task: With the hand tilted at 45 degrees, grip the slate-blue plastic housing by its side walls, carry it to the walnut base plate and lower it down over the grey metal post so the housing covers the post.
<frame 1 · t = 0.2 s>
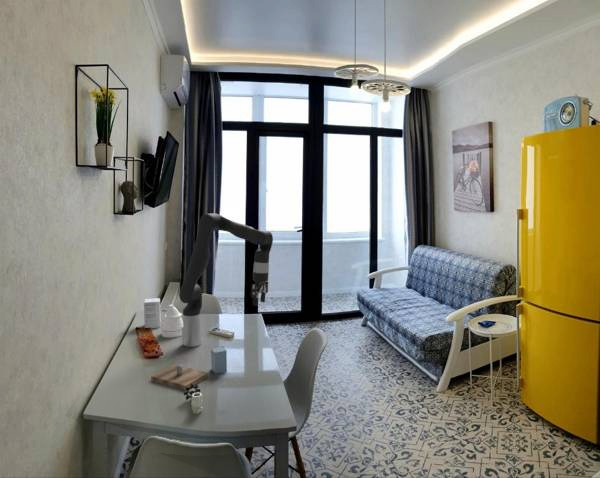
hand: (258, 303, 193), 29 cm above the table, tool pointing down, fingers open, 8 cm apart
post plate: (179, 378, 174), on the table
valve: (195, 407, 151), on the table
supplement box: (152, 326, 247), on the table
housing: (219, 370, 183), on the table
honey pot: (173, 334, 233), on the table
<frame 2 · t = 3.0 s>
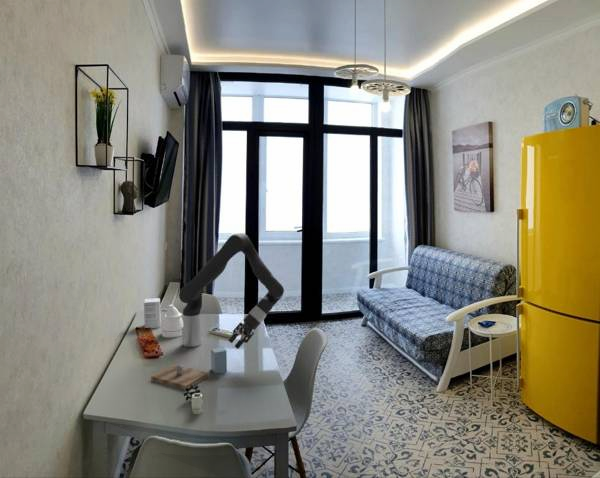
hand: (233, 344, 185), 11 cm above the table, tool tilted 45°, fingers open, 8 cm apart
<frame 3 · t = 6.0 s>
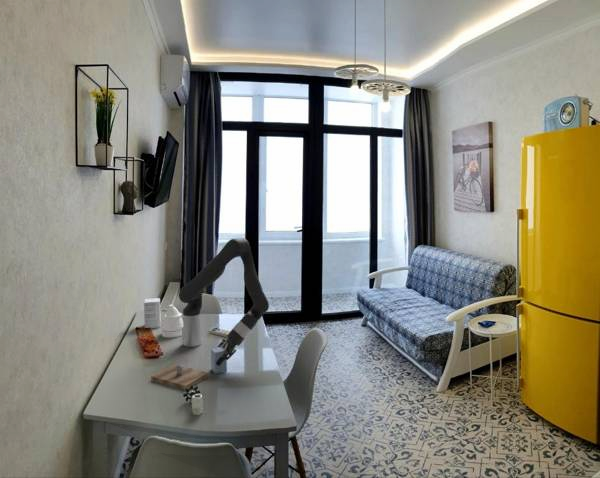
hand: (215, 362, 182), 4 cm above the table, tool tilted 45°, fingers closed on housing, 5 cm apart
housing: (219, 370, 183), on the table, touching gripper
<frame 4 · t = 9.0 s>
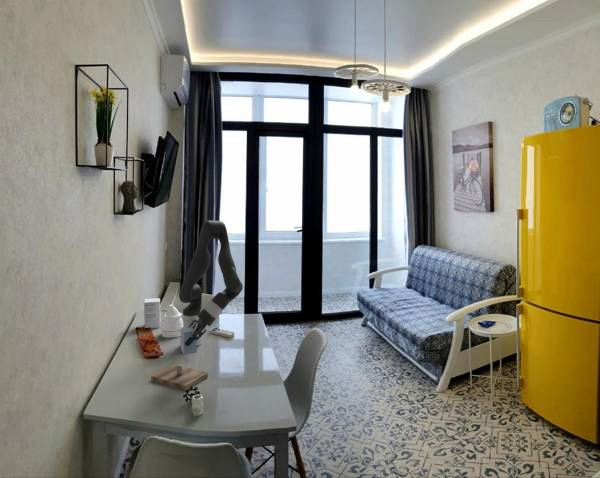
hand: (184, 342, 174), 16 cm above the table, tool tilted 45°, fingers closed on housing, 5 cm apart
housing: (188, 351, 175), point 12 cm above the table, touching gripper
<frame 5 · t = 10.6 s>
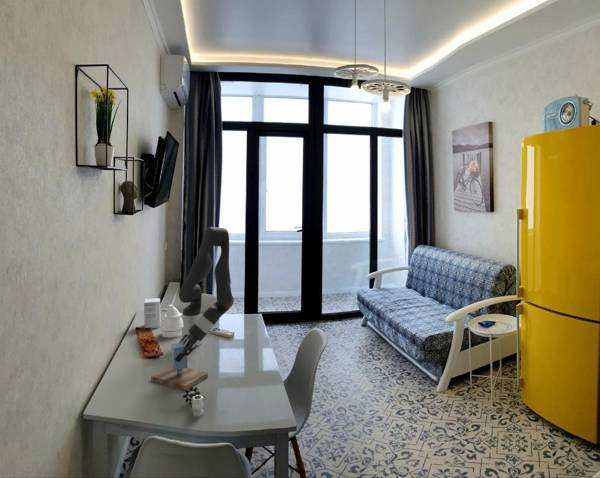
hand: (175, 358, 172), 10 cm above the table, tool tilted 45°, fingers closed on housing, 5 cm apart
housing: (179, 366, 174), point 5 cm above the table, touching gripper
when the fingers open (7 cm above the table, at t = 12.0 s): housing stays where it is, resting on post plate.
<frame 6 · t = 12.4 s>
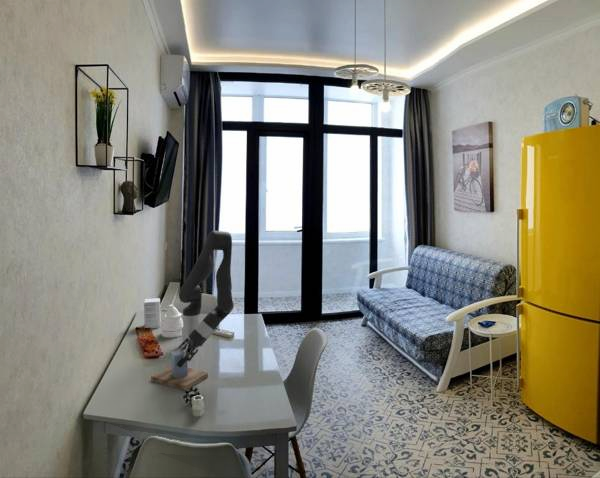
hand: (176, 362, 173), 8 cm above the table, tool tilted 45°, fingers open, 8 cm apart
housing: (179, 374, 174), point 2 cm above the table, touching post plate
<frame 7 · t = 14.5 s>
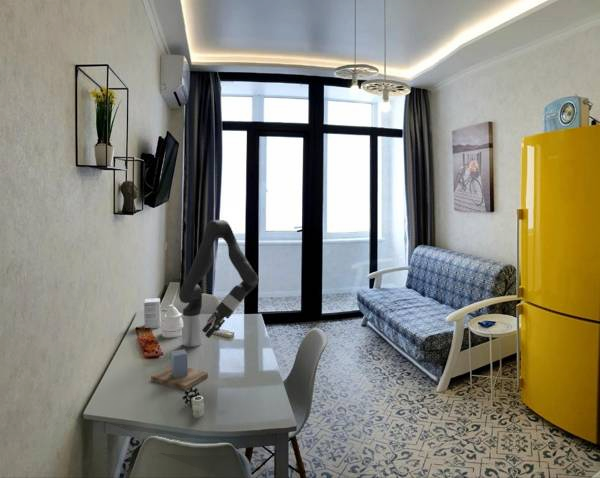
hand: (205, 334, 179), 18 cm above the table, tool tilted 45°, fingers open, 8 cm apart
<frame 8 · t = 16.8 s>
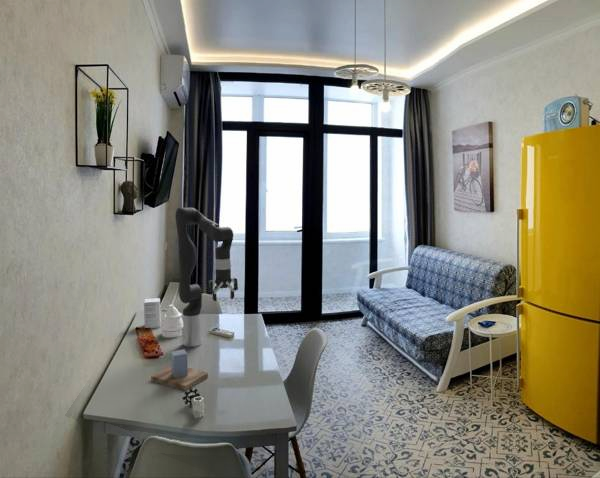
hand: (223, 300, 194), 30 cm above the table, tool pointing down, fingers open, 8 cm apart
at the end: housing 0.1 cm off-centre on the post plate, point 2.0 cm above the post plate's base; housing tilted 0°; the gripper is holding nothing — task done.
